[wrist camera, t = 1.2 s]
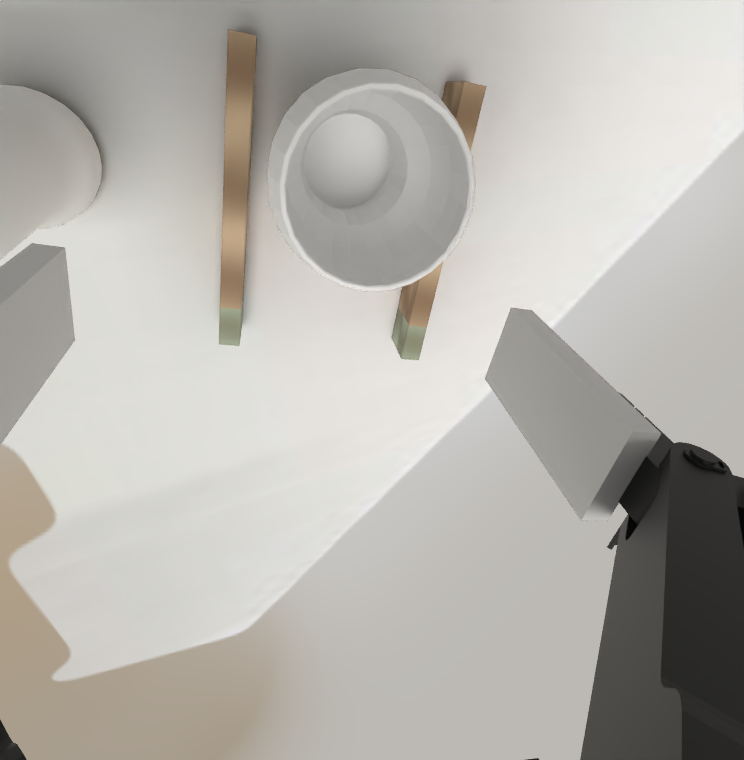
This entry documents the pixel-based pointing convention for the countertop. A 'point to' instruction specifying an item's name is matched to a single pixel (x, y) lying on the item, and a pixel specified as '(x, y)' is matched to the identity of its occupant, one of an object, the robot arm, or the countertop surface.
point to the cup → (370, 179)
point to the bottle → (42, 165)
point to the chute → (237, 160)
